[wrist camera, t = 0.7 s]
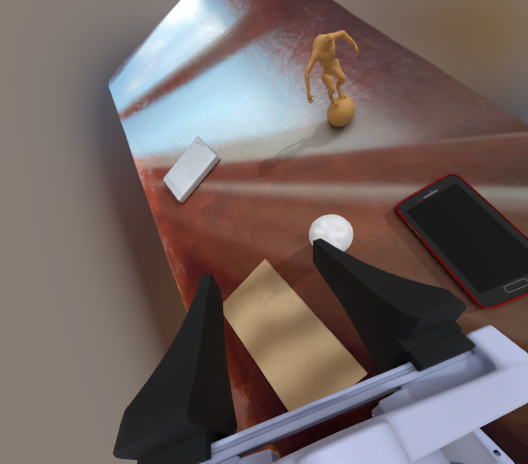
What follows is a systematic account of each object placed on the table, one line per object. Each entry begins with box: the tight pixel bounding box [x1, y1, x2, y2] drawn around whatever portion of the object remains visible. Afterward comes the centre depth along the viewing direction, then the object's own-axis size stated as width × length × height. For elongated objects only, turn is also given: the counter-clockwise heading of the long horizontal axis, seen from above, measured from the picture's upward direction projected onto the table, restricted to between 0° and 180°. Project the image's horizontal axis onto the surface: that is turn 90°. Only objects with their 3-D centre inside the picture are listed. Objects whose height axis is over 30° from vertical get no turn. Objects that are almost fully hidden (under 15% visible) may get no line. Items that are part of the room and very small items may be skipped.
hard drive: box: [163, 136, 220, 203], centre depth 40 cm, size 2×8×12 cm
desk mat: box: [223, 259, 367, 412], centre depth 28 cm, size 20×12×1 cm, turn 45°
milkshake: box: [309, 215, 353, 252], centre depth 23 cm, size 4×5×10 cm
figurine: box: [305, 31, 358, 126], centre depth 25 cm, size 8×6×12 cm
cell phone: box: [395, 173, 528, 309], centre depth 22 cm, size 8×15×1 cm, turn 30°
